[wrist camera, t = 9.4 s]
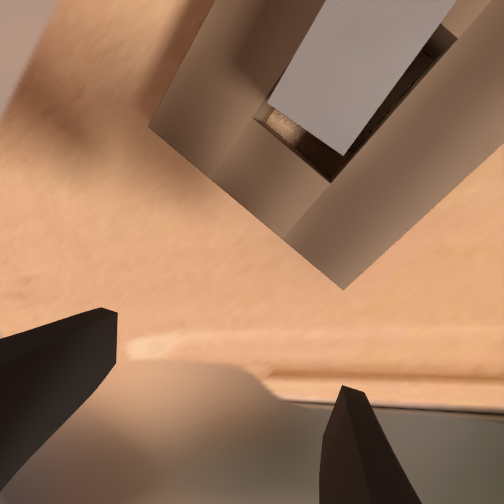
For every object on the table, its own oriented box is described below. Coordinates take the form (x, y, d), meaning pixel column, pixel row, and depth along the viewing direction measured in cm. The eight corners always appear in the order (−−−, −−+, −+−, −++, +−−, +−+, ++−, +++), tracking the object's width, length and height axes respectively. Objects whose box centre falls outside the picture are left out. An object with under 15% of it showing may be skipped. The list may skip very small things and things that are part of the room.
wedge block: (411, 52, 13) (468, -16, 8) (339, 153, 15) (343, 156, 10) (355, 13, 13) (372, -80, 8) (290, 119, 15) (266, 102, 10)
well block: (576, 43, 12) (643, 14, 9) (341, 269, 17) (343, 290, 14) (343, -159, 12) (346, -245, 9) (175, 129, 17) (147, 126, 14)
